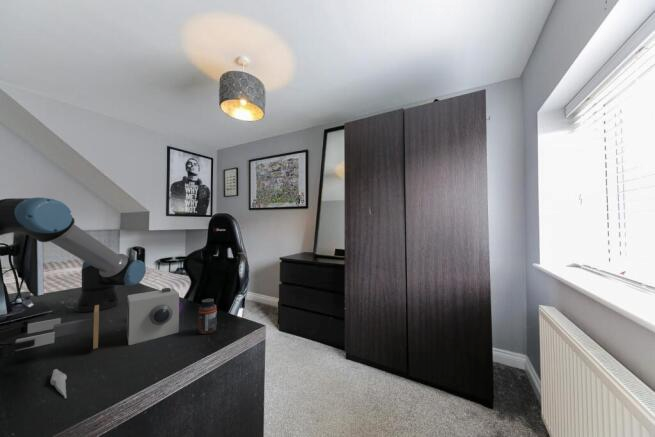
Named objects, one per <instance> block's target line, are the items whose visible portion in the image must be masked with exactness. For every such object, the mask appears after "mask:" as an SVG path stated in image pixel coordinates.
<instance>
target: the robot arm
mask: <svg viewBox="0 0 655 437" xmlns="http://www.w3.org/2000/svg"><path fill="white" fill-rule="evenodd" d="M71 213H72V211H71V209H70V208H69V206H67V204H65V203H63V202H62V201H60V200H57V199H53V198H48V197H29V198H28V197H27V198H26V197H24V198H23V197H22V198H21V197H19V198H12V197H11V198H3V199H0V236H2V235H7V234H11V233H12V234H13V233H15V234H16V233H18V234H19V233H20V234H26V235H28V236H29V237H31V238H32V239H34V240H37V241H38V242H40V243H49V242H51V244H54V245H56V246H58V247H59V248H61V249H62V250H64V251H66V252H68V253H70V254H71V255H73V256H75V257H76V258H78V259H80V260H82V261H83V262H82V266H81V293H80V296H79V298H78V300H77V302H76V304H75V312H77V313H90V312H94V308H95V305H99V311H103V310H106V309H110V308H115V307H117V306H118V305H119V304H120V297H119V295H118V292H117V290H116V286H126V287H127V286H128V287H129V286H135V285H138V284H139V283H140V282H142V280H143V279H144V277H145V276H146V272H147V271H146V269H147V267H146V264H145V263H144V261H143V260H139V259H131V257H129V256H128V255H126V254H125V253H116V252H115V251H114V250H112V249H111V248H109V247H108V246H107V245H105V244H104V243H102V242H101V241H99V240H98V239H96V238H95V237H94V236H92V235H90V234H89V233H88V232H86V231H84V230H83V229H81V228H80V227H79V226H77V225H76V224H75V222H76V221H75V218H74V217H73V215H72V214H71ZM61 321H62V319H61V317H59V318H54V319H47V320H43V321H37V322H31V323H29V320H26V321H25V320H24V321H23V322H21V323H16V324H13V325H9V326H5V327H0V358H6V357H7V358H8V357H12V356H14V355H15V352H19V351H23V350H27V349H28V350H29V349H31V348H36V347H41V346H45V345H49V344H54V343H55V337H54V334H55V332H53V331H51V332H47V333H43V334H38V335H32V336H28V337H22V338H17V339H16V340H15V341H5V340H8V339H12V338H14V337H17V336H20V335H23V334H33V333H37V332H44V331H49V330H53V327H54V325H55V324H61V323H62V322H61Z"/></svg>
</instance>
